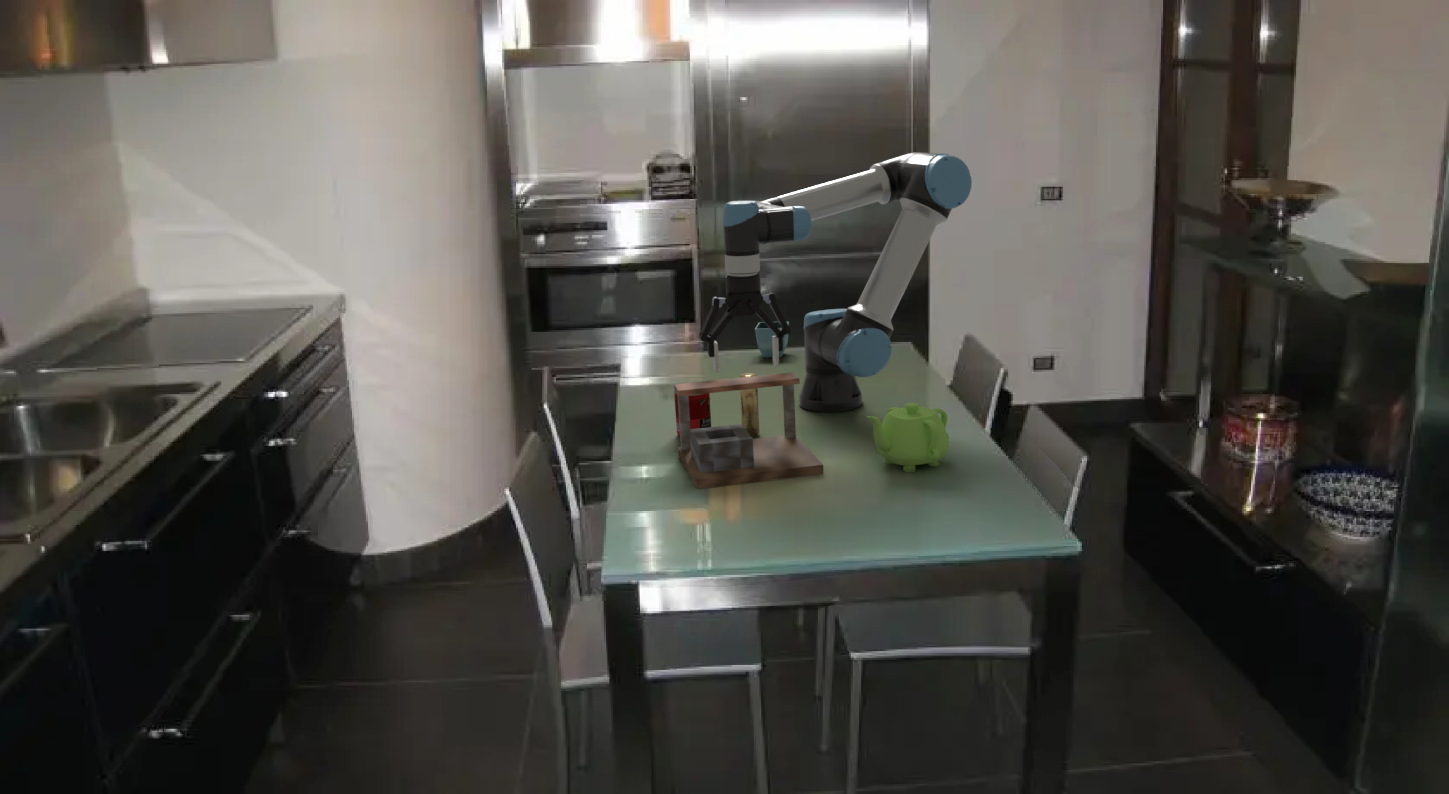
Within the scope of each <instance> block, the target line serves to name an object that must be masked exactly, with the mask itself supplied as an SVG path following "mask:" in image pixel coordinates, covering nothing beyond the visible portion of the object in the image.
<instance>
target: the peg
mask: <svg viewBox="0 0 1449 794" xmlns="http://www.w3.org/2000/svg"><path fill="white" fill-rule="evenodd" d="M751 376H758V375H757V373H755V372H754V373H753V372H745V373H741V374H738V378H742V377H751ZM758 390H759V388H754V389H744V390H739V401H740V402H739V403H740V424H742V426H743V427H744V428H745V429H746V431H747V432H748V433H749V434H750V436H751V437H752V438H753V439H756V438H758V437H760V436H761V434H760V432H761V431H760V413H759V394H758V393H759V392H758ZM759 435H760V436H759ZM757 436H758V437H757ZM755 437H756V438H755Z"/></svg>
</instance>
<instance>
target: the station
mask: <svg viewBox="0 0 1449 794" xmlns="http://www.w3.org/2000/svg"><path fill="white" fill-rule="evenodd" d="M799 384H800V377H798V376H797V374H795V373H794V372H792V371H791V372H782V373H774V374H773V373H772V374H764V375H761V374H760V375H757V376H751V377H742V378H739V377H733V378H724V379H714V380H705V381H704V380H703V381H694V382H684V383H674V384H673V388H674V389H673V390H675V391H676V393H677V396H678V412H679V427H680V437H679V439H680V441H679V442H680V446H678V447H677V448H678V449H677V450H678V451H677V452H678V457H679V459H680V461H681V463H682V464H683V466H684V468H685V470H686V472H687V473H688V476H689V477H690V479H691V480H692V483H693V484H694V485H695V488H696V489H697V490H698V489H708V488H715V487H716V488H717V487H725V486H732V485H733V486H734V485H740V484H741V485H743V484H750V483H757V482H765V481H766V482H767V481H768V482H769V481H774V480H775V481H776V480H784V479H785V480H786V479H794V478H800V477H810V476H817V475H818V476H819V475H824V464H823V463H822V462H821V461H820V460H819V458H818V457H817V456H816V455H815V454H814V453H813V452H812V451H811V450H810V448H808V446H807V445H806V444H805V443H804V442H803V441H802V440H801V438H799V436H797V435H796V434H797V432H796V430H797V429H796V427H797V426H796V409H795V408H796V406H795V405H796V403H795V401H796V399H795V385H799ZM770 387H782V400H783V401H782V402H783V406H782V407H783V429H784V435H775V436H767V437H756V438H752V437H751V436H750V434H749V433H748V432H747V431H746V429H745V428H744V427H743V426H742V424H741V423H736V424H729V425H719V426H711V427H708V428H698V429H690V415H689V399H688V395H696V394H706V393H709V394H714V393H723V392H724V393H725V392H732V391H733V392H734V391H740V390H744V389H754V388H758V389H761V388H762V389H763V388H770Z"/></svg>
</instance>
